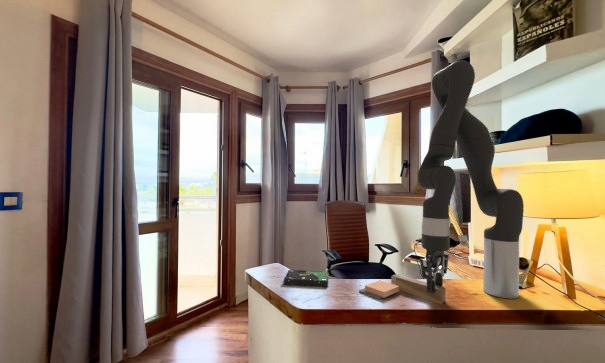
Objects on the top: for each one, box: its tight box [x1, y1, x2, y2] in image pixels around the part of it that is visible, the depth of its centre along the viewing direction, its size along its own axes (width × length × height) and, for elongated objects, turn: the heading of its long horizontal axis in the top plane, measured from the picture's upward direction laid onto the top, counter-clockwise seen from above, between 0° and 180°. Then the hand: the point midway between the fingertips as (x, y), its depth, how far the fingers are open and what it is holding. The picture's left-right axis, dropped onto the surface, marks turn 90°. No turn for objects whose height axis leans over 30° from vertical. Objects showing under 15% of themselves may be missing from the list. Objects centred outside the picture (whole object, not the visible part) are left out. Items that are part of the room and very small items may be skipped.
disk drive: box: [283, 269, 330, 289], centre depth 98 cm, size 10×3×15 cm
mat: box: [358, 287, 384, 301], centre depth 89 cm, size 10×7×1 cm
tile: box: [364, 280, 400, 299], centre depth 88 cm, size 8×2×7 cm
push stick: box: [390, 274, 447, 305], centre depth 88 cm, size 3×16×4 cm, turn 41°
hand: (434, 290), depth 84 cm, fingers open, 4 cm apart
